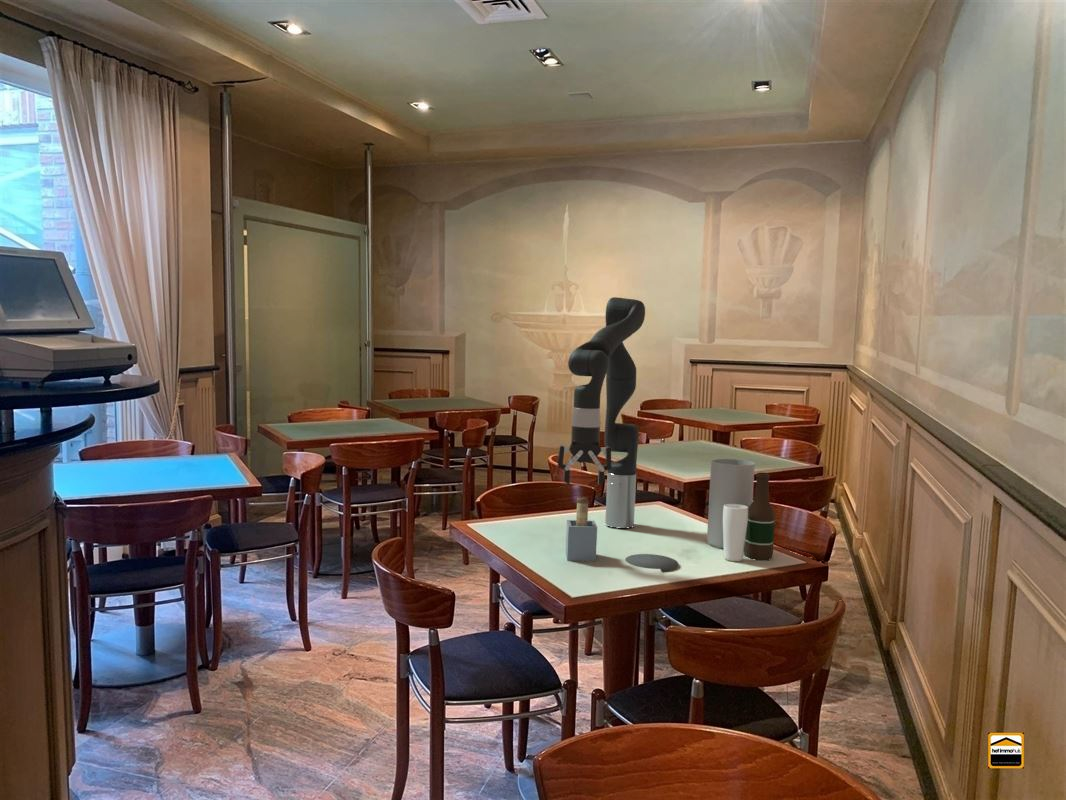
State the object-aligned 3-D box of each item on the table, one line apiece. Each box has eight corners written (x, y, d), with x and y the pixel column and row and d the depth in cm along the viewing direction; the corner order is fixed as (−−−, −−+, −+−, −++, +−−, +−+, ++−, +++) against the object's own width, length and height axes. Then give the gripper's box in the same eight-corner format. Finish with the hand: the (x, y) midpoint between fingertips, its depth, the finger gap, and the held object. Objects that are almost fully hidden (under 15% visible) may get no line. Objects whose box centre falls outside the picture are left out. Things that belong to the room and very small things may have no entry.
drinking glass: (715, 556, 219) (718, 504, 218) (736, 555, 221) (738, 503, 220) (729, 563, 212) (732, 509, 211) (750, 561, 215) (753, 508, 214)
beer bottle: (759, 562, 215) (764, 476, 213) (738, 555, 221) (742, 471, 219) (778, 559, 219) (783, 474, 217) (757, 552, 225) (761, 470, 224)
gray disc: (622, 556, 216) (622, 553, 216) (672, 557, 216) (672, 554, 216) (629, 571, 202) (629, 567, 202) (682, 572, 202) (683, 569, 202)
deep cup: (565, 555, 215) (566, 519, 214) (592, 556, 215) (594, 520, 214) (567, 563, 207) (568, 526, 206) (595, 564, 207) (597, 527, 206)
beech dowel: (574, 555, 212) (576, 497, 211) (585, 555, 212) (588, 497, 211) (575, 558, 209) (577, 499, 208) (586, 558, 209) (589, 500, 208)
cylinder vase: (755, 551, 227) (760, 466, 225) (712, 549, 227) (716, 464, 225) (743, 540, 239) (747, 459, 237) (702, 538, 239) (706, 458, 237)
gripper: (610, 424, 212) (608, 483, 213) (558, 422, 212) (556, 481, 213) (614, 427, 205) (611, 488, 206) (560, 425, 204) (557, 486, 205)
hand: (583, 484), depth 209 cm, fingers open, 8 cm apart
